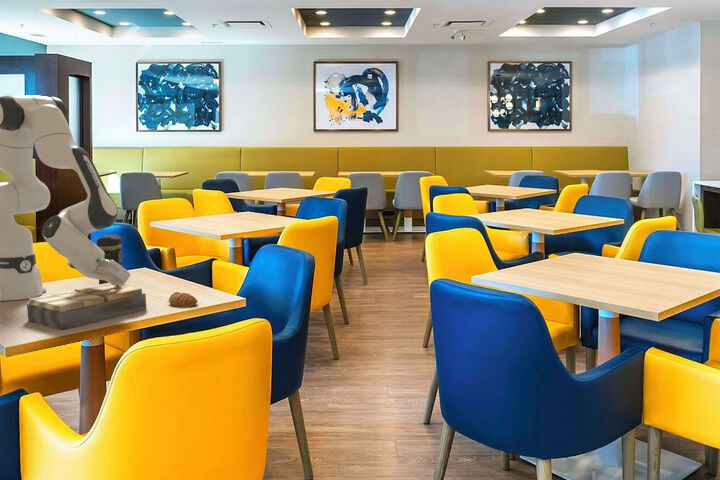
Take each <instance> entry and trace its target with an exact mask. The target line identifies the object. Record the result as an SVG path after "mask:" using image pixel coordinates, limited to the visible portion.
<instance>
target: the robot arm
mask: <svg viewBox="0 0 720 480" xmlns="http://www.w3.org/2000/svg"><path fill="white" fill-rule="evenodd" d="M67 120H68V109H67V106H66V104H65V102H64V101H63V100H62V99H60V98H58V97H55V96H42V95H35V94H34V95H33V94H28V95H14V96H13V95H12V96H11V95H4V96H0V171H1V172H4V173H6V174H7V175H10V180H9V181H4V182H0V302H2V301H3V302H4V301H19V300H25V299H31V298H36V297H40V296H42V295H43V294H44V293H45V292H47V288H46V287H43V281H42V277H41V276H42V275H41V274H42V273H41V270H40V268H38V266H37V265H36V264H37V257H36V254H35V252H34V242H33V241H34V240H33V234H32V231H31V230H30V228H28V227H26V226H24V225H21V224H18V223H17V222H16V219H15V217H14V215H21V214H23V215H24V214H31V213H35V212H39V211H42V210H45V209H47V208H48V206H49V204H50V202H51V192H50V190H49V188H48V186H47V185H46V184H45V183H44V182H43V181H41V180H40V179H39V178H38V177H37V176H36V175H37V174H36V173H35V171H34V170H35V169H34V166H33V165H34V164H33V161H34V159H33V155H34V149H35V151H36V154H37V157H38V158H39V160H40V161H41V162H42V163H43V164H44V165H46V166H48V167H50V168H53V169H61V170H63V169H64V170H65V169H67V170H69V169H70V170H73V171H75V172H76V173H77V175H78V177H79V179H80V181H81V183H82V186H83V188H84V190H85V191H86V194H87V197H86V199H85V200H83V201H80V202H78V203H76V204H73V205H70V206H68V207H66V208H64V209H62V210H61V211H59V212H58V213H57V214H58V215H57V214H55V215H53V216H51V217H50V218H48V219H47V220H46V221H45V223H44V224H43V226H42V230H41V235H42V237H43V238H44V240H45V242H47V244H48V245H49V246H50V247H51V248H52V249H53V250H54V251H56V252H57V253H58V254H59V255H60V256H62V257H64V258H66V259H67V261H68V262H67V266H68V267H69V268H71V269H75V270H76V271H77V272H79V273H80V274H81V275H82V276H85V277H86V278H88V279H95V280H98V281H99V280H105V281H107V282H109V283H111V284H112V285H113V286H115V287H122V285H124V284H126V283H127V281H128V280H129V278H130V277H131V273H130V272H129V271H128V270H127V269H126V268H124V266H123V267H122V266H121V265H119V264H118V263H117V262H115V261H113V260H107V259H105V258H104V255H105V254H104V251H103V250H101V249H100V248H99V247H98V246H97V243H95V242H94V241H92V240H91V239H89V238H88V237H89V235H90V234H92V233H95V232H97V231H100V230H103V229H107V228H111V227H112V226H114V225H115V223H116V221H117V218H118V212H119V211H118V207H117V205H116V203H115V201H114V200H113V199H112V197H111V195H110V193H109V192H108V191H107V189H106V187H105V184H104V182H103V180H102V178H101V176H100V174H99V171H98V170H97V167H96V165H95V164H94V162H93V160H92V158H91V156H90V154H89V153H88V152H87V150H85V149H84V148H83V147H80V146H78V145H77V143H76V142H75V140H74V137H73V133H72V131H71V128H70V126H69V123H68V121H67Z"/></svg>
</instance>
